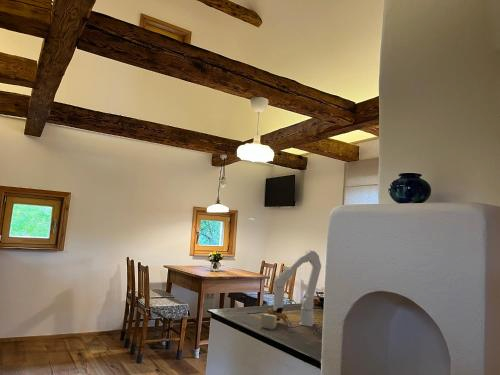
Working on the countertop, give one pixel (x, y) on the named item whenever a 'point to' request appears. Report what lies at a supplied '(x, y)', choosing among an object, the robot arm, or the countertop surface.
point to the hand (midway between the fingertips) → (277, 320)
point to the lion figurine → (278, 315)
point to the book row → (268, 321)
